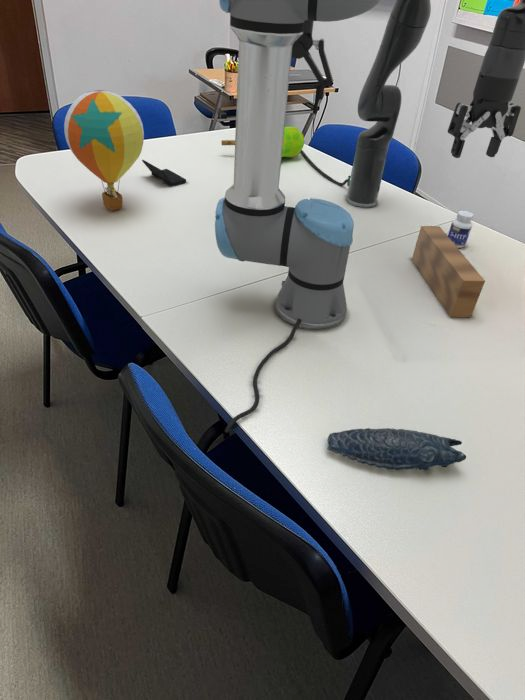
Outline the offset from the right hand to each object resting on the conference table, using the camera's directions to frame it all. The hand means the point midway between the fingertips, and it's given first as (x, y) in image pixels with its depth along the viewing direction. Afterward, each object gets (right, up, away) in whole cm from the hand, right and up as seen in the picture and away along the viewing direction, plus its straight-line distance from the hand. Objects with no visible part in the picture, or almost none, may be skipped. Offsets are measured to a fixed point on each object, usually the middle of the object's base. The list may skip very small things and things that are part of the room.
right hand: (472, 156), depth 111 cm
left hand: (-38, +21, +24) cm, 50 cm away
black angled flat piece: (-76, +12, +53) cm, 94 cm away
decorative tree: (-45, +28, +77) cm, 93 cm away
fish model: (-25, -58, -29) cm, 70 cm away
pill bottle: (+8, -12, +33) cm, 36 cm away
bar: (-2, -26, +14) cm, 30 cm away
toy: (-87, -2, +34) cm, 93 cm away
